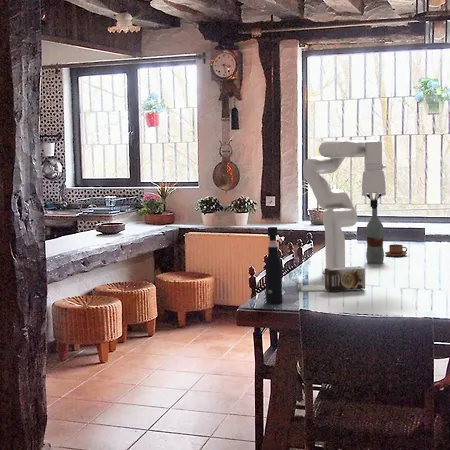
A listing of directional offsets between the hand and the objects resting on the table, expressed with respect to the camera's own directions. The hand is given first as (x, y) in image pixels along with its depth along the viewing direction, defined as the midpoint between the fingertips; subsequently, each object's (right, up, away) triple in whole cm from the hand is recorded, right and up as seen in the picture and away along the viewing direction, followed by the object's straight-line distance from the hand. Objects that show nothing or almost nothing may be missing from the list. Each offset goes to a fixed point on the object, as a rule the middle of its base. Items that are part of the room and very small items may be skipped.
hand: (374, 208), depth 314 cm
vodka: (+13, -28, +56) cm, 64 cm away
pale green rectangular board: (-22, -35, -13) cm, 44 cm away
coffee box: (-8, -30, -16) cm, 35 cm away
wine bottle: (-48, -38, -37) cm, 72 cm away
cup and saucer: (+29, -25, +79) cm, 88 cm away
